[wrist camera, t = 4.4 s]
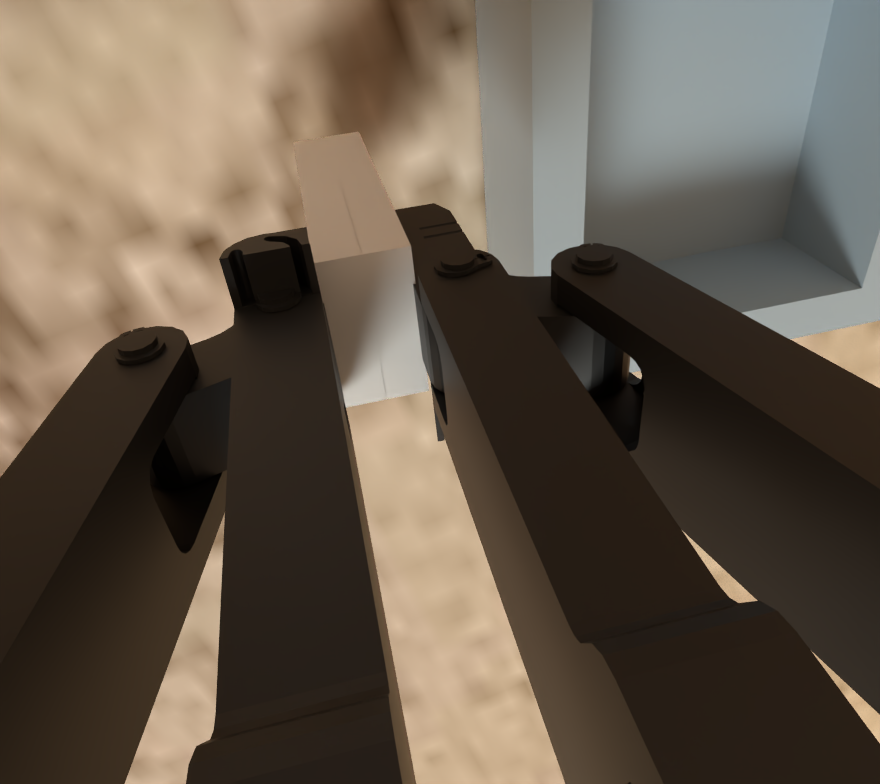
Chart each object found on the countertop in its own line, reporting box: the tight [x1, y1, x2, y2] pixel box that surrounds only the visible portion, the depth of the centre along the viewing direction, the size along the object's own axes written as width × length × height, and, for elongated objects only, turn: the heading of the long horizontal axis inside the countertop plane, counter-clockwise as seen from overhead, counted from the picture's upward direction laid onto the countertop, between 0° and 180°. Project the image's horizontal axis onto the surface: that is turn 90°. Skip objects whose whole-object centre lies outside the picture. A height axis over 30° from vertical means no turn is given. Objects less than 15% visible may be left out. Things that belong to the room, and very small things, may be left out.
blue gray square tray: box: [475, 0, 880, 373], centre depth 17 cm, size 10×10×4 cm
